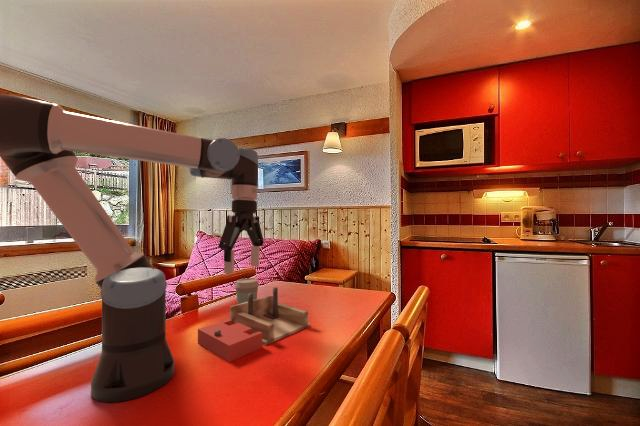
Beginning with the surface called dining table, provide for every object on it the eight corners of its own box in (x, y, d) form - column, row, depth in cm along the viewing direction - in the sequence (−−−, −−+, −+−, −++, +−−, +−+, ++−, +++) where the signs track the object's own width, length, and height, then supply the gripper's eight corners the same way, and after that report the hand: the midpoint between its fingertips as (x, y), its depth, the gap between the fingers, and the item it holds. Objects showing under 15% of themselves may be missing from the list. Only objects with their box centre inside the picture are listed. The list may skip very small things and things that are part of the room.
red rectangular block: (197, 343, 80) (197, 325, 81) (229, 332, 88) (229, 315, 88) (229, 362, 70) (229, 341, 70) (262, 347, 77) (262, 329, 78)
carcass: (265, 345, 79) (265, 304, 79) (229, 328, 91) (229, 293, 91) (310, 325, 93) (310, 291, 93) (274, 313, 104) (273, 283, 104)
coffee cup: (261, 309, 109) (261, 278, 109) (254, 317, 100) (254, 283, 101) (240, 309, 110) (239, 277, 110) (231, 317, 101) (230, 283, 101)
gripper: (229, 196, 75) (227, 277, 75) (274, 202, 99) (273, 264, 98) (206, 196, 78) (204, 275, 77) (255, 202, 101) (254, 263, 101)
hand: (242, 269), depth 88 cm, fingers open, 13 cm apart
